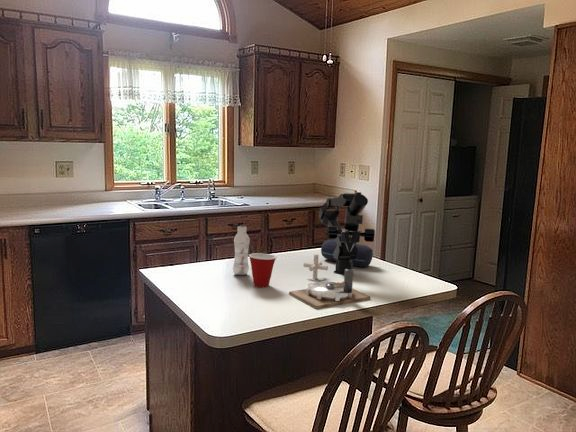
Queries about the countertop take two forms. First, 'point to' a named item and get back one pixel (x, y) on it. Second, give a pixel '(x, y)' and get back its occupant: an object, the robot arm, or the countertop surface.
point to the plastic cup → (262, 268)
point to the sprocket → (333, 288)
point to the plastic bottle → (241, 251)
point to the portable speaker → (361, 259)
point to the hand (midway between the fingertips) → (349, 251)
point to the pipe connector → (315, 266)
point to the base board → (322, 303)
